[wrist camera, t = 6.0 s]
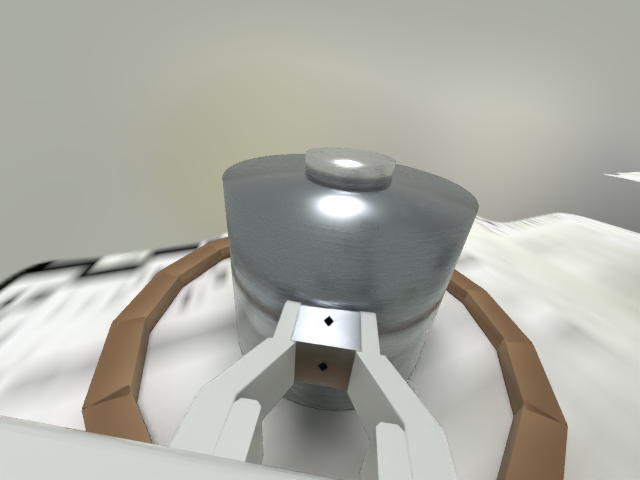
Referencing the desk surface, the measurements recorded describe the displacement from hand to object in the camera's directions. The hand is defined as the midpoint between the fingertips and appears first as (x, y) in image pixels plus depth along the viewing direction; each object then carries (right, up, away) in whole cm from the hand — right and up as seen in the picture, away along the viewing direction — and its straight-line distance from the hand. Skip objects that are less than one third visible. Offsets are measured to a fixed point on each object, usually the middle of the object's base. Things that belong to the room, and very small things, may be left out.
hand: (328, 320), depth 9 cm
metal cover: (0, -2, +7) cm, 8 cm away
